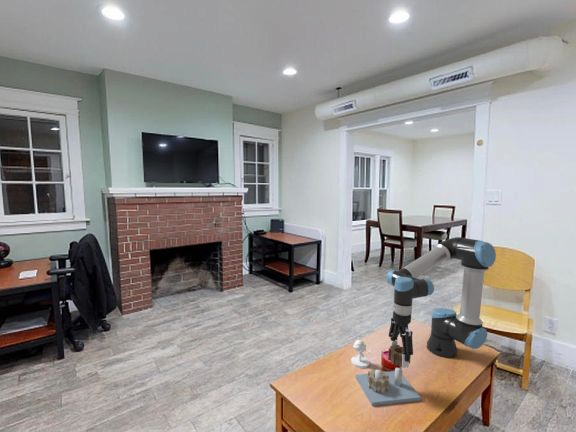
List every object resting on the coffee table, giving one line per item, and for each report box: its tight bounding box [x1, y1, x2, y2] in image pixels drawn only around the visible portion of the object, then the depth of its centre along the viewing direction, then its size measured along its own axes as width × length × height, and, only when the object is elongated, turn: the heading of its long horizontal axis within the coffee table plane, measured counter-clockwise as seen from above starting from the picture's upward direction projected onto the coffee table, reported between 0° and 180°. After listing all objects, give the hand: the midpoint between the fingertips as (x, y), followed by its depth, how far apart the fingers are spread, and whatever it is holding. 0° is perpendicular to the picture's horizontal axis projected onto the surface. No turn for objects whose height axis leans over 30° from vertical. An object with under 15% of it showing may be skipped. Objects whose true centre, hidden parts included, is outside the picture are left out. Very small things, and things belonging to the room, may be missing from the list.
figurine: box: [351, 339, 370, 369], centre depth 151 cm, size 9×9×12 cm
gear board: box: [355, 367, 422, 407], centre depth 132 cm, size 22×18×8 cm
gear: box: [367, 368, 389, 394], centre depth 132 cm, size 9×9×5 cm
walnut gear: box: [387, 344, 412, 368], centre depth 132 cm, size 9×9×5 cm
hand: (399, 360), depth 132 cm, fingers closed on walnut gear, 9 cm apart
